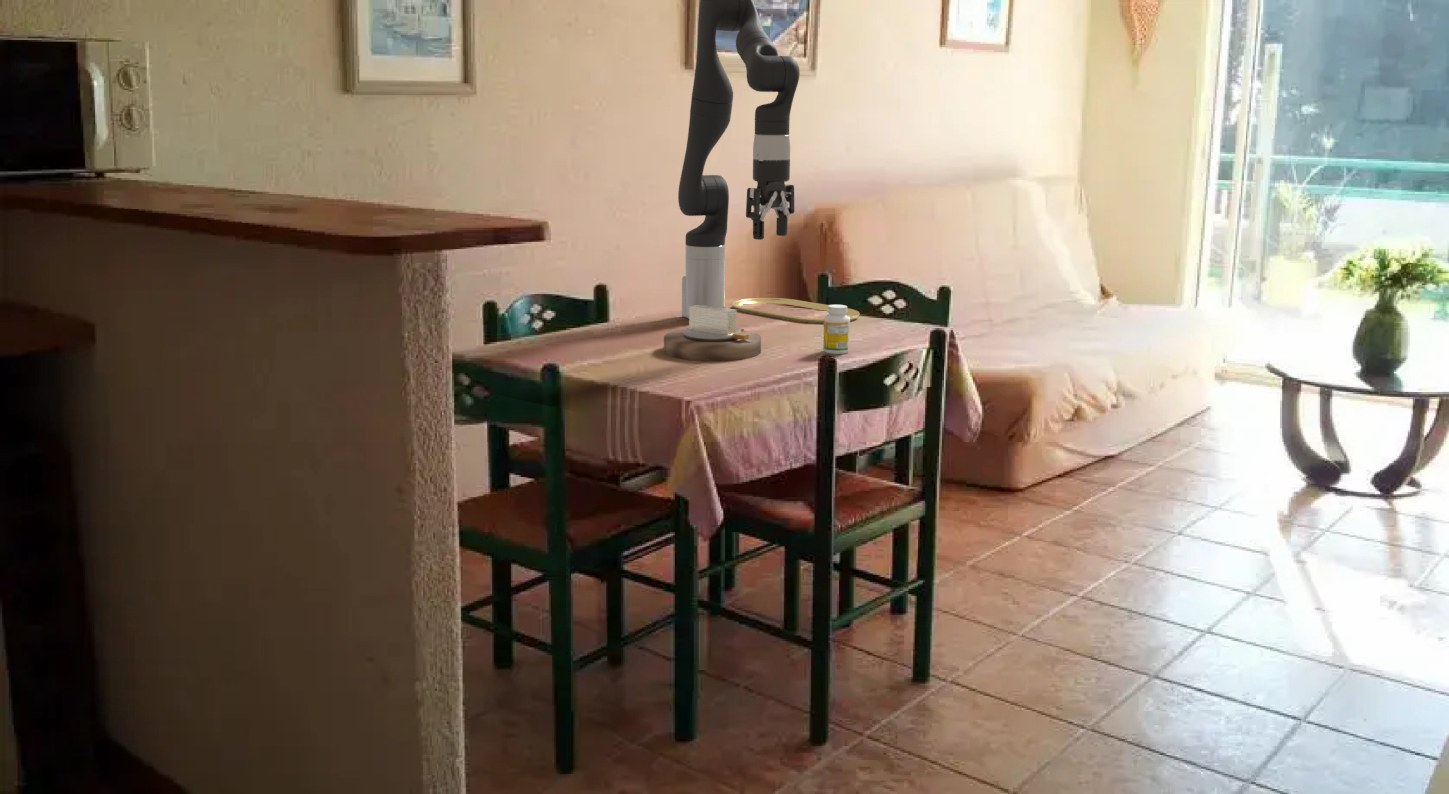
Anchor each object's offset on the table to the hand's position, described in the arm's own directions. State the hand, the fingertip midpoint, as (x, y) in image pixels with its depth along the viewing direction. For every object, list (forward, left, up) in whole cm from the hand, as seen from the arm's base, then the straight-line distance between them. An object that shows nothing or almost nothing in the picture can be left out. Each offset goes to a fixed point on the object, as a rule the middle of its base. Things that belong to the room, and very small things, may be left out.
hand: (770, 237), depth 265 cm
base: (-7, -10, -23) cm, 26 cm away
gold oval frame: (-21, +40, -24) cm, 50 cm away
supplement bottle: (+13, +6, -23) cm, 27 cm away
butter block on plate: (-5, -11, -20) cm, 23 cm away
